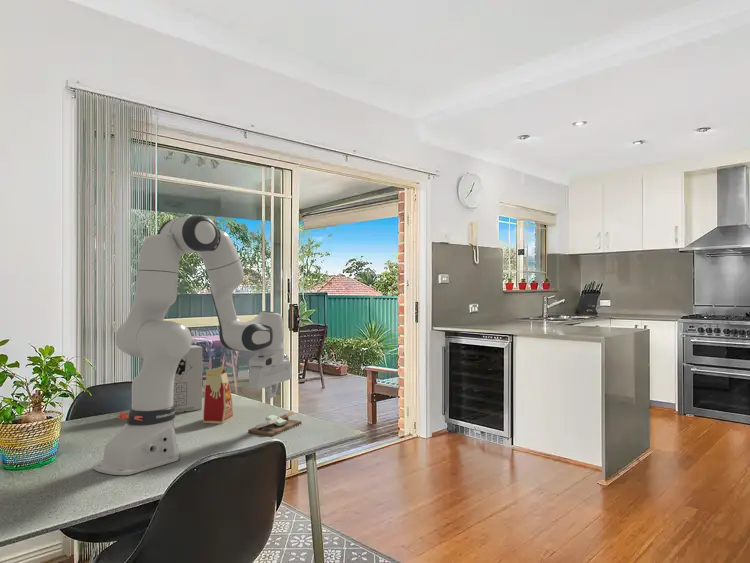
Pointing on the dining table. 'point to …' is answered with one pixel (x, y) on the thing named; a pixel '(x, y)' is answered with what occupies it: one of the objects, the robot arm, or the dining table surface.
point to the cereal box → (188, 381)
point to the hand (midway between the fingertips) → (271, 397)
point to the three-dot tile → (287, 415)
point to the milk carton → (217, 397)
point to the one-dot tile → (266, 423)
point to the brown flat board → (274, 428)
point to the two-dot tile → (279, 420)
